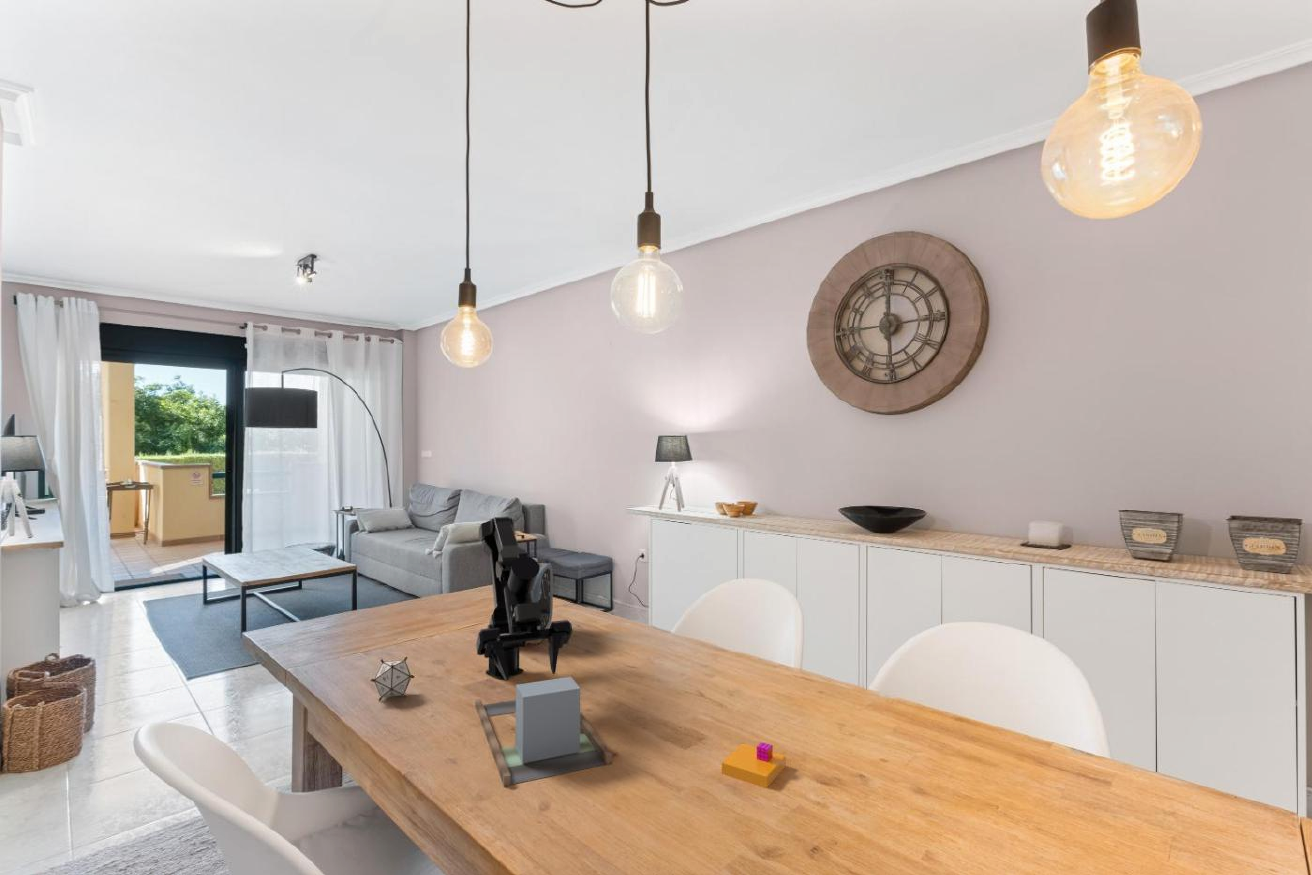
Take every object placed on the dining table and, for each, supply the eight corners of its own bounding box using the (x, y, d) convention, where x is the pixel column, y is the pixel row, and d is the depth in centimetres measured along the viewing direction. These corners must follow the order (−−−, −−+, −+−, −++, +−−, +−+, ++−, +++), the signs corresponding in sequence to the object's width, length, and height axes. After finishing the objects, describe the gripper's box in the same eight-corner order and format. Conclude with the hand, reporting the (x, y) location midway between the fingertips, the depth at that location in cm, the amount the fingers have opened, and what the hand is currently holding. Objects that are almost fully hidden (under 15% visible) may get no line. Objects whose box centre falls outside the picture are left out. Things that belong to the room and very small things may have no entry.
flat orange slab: (766, 790, 97) (766, 763, 97) (721, 775, 101) (721, 749, 101) (785, 768, 103) (785, 743, 103) (742, 755, 108) (742, 731, 108)
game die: (396, 717, 130) (394, 690, 124) (363, 700, 131) (359, 672, 126) (424, 684, 137) (423, 656, 131) (392, 667, 139) (390, 640, 133)
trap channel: (475, 706, 127) (475, 698, 127) (560, 692, 134) (560, 685, 134) (503, 786, 97) (504, 776, 97) (611, 763, 104) (611, 754, 104)
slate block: (515, 747, 109) (516, 684, 109) (570, 737, 113) (570, 676, 113) (522, 763, 103) (523, 697, 103) (579, 751, 107) (580, 688, 107)
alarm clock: (538, 649, 163) (539, 567, 164) (503, 649, 164) (504, 567, 164) (552, 627, 184) (553, 554, 184) (521, 627, 184) (521, 554, 185)
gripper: (479, 589, 122) (487, 663, 111) (570, 581, 129) (585, 650, 119) (473, 618, 129) (480, 691, 119) (560, 609, 136) (573, 676, 126)
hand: (531, 676), depth 120 cm, fingers open, 9 cm apart
